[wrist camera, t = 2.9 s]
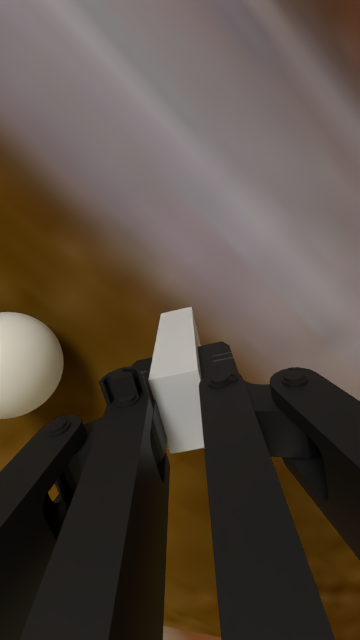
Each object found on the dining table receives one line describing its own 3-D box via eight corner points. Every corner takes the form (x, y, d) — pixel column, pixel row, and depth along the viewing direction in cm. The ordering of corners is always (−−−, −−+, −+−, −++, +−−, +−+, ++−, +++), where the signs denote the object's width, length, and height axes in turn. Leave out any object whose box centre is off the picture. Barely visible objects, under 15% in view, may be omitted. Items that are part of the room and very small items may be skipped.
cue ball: (57, 290, 19) (11, 322, 14) (88, 374, 21) (57, 430, 16) (-31, 311, 19) (-109, 350, 14) (6, 391, 21) (-51, 452, 16)
